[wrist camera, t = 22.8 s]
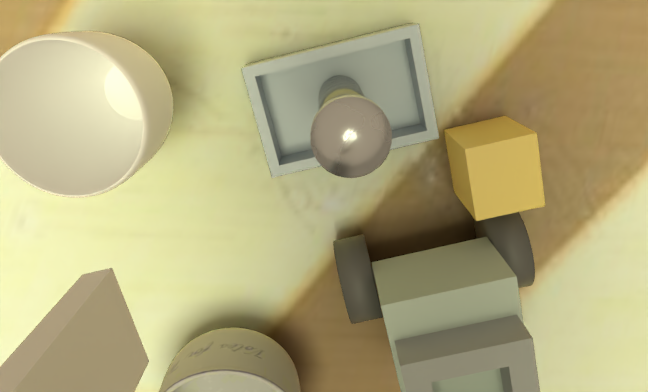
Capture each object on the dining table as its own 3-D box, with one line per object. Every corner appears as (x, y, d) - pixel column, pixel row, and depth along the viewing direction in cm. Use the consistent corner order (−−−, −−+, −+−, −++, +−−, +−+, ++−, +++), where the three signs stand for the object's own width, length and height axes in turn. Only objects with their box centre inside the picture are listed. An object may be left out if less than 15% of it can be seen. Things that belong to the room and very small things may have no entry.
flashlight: (319, 130, 39) (321, 185, 27) (306, 76, 38) (301, 108, 25) (373, 118, 39) (399, 167, 26) (361, 63, 38) (383, 88, 25)
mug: (185, 22, 37) (131, 26, 26) (203, 144, 40) (161, 194, 29) (7, 36, 37) (-120, 47, 27) (36, 157, 40) (-68, 211, 29)
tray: (275, 166, 40) (271, 177, 38) (246, 64, 38) (241, 68, 35) (430, 129, 40) (439, 138, 37) (411, 22, 37) (418, 24, 35)
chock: (454, 192, 41) (476, 221, 36) (443, 129, 40) (464, 149, 34) (513, 179, 41) (545, 205, 35) (505, 115, 40) (536, 132, 34)
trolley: (364, 356, 45) (381, 478, 34) (332, 228, 42) (338, 314, 30) (518, 323, 45) (591, 436, 33) (498, 190, 41) (572, 263, 29)
